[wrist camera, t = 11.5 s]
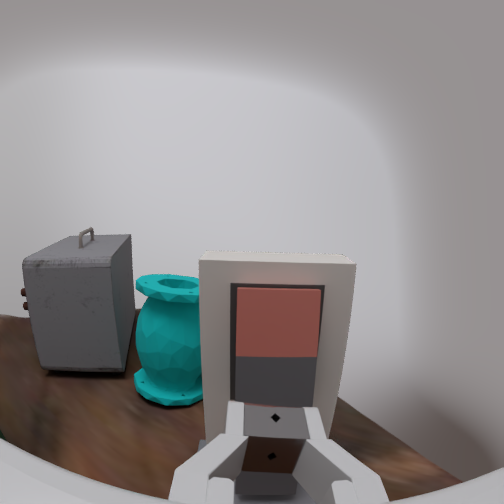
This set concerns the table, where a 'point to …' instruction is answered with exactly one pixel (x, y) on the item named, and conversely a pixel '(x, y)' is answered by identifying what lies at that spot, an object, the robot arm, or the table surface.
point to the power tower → (224, 331)
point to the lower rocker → (265, 483)
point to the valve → (169, 340)
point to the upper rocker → (276, 346)
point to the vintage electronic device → (81, 302)
